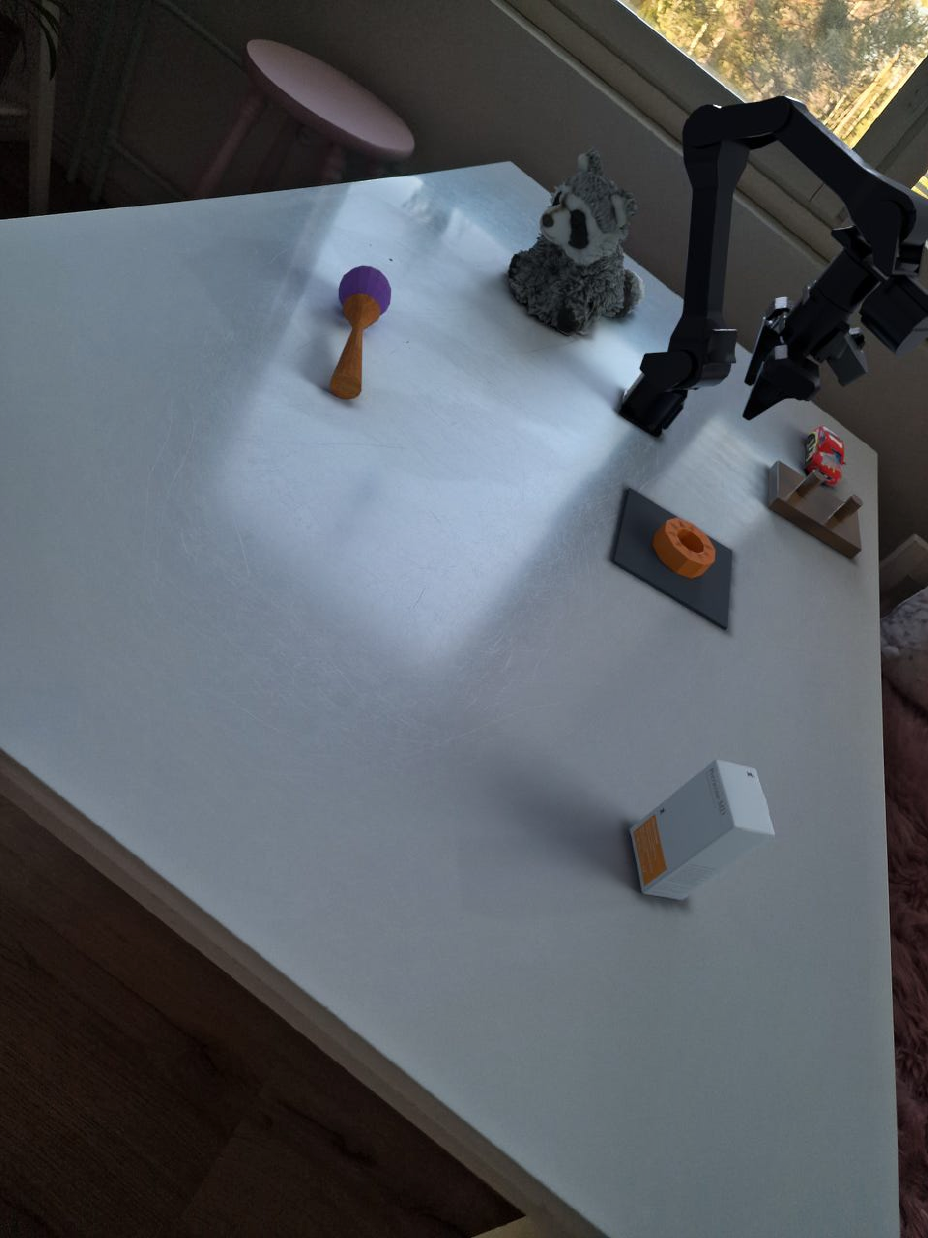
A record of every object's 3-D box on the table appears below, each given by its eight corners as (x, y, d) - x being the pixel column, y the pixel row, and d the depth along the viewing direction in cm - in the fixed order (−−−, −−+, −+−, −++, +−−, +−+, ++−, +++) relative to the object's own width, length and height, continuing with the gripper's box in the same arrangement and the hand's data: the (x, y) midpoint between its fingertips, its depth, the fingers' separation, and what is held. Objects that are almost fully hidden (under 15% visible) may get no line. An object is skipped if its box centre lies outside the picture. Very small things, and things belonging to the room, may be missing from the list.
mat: (612, 562, 108) (614, 559, 108) (627, 489, 119) (629, 487, 119) (725, 630, 110) (727, 627, 110) (730, 552, 121) (732, 550, 121)
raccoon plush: (470, 281, 134) (550, 136, 120) (570, 248, 158) (647, 124, 144) (553, 353, 132) (645, 216, 118) (642, 309, 156) (727, 190, 142)
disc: (650, 557, 111) (663, 543, 110) (656, 522, 117) (668, 508, 115) (700, 588, 112) (713, 574, 111) (703, 552, 118) (716, 538, 116)
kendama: (322, 355, 99) (347, 248, 112) (312, 401, 104) (337, 293, 117) (380, 371, 100) (398, 263, 113) (367, 415, 105) (387, 307, 118)
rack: (768, 507, 134) (795, 478, 130) (768, 469, 141) (794, 441, 138) (851, 559, 136) (880, 533, 132) (847, 519, 143) (875, 493, 140)
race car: (831, 495, 146) (850, 476, 143) (801, 474, 145) (820, 455, 143) (833, 453, 156) (851, 435, 153) (805, 434, 155) (823, 415, 153)
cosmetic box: (626, 828, 84) (714, 755, 76) (667, 837, 86) (757, 766, 78) (639, 896, 80) (734, 826, 72) (682, 903, 82) (778, 836, 74)
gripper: (900, 369, 106) (801, 473, 116) (885, 302, 120) (798, 400, 130) (815, 313, 104) (722, 423, 114) (810, 252, 118) (728, 355, 128)
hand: (746, 400), depth 122 cm, fingers open, 9 cm apart
